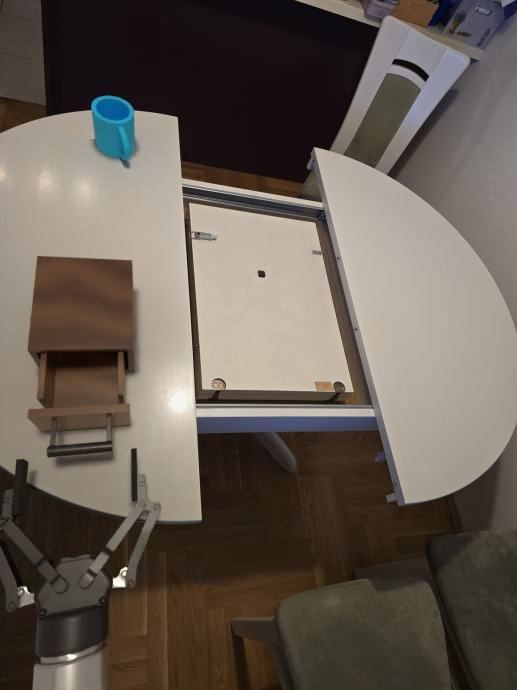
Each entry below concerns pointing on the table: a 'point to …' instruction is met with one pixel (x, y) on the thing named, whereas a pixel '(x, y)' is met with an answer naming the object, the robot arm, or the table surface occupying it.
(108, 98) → the mug
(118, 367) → the drawer
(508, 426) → the table surface
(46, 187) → the table surface
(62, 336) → the cabinet
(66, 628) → the robot arm
